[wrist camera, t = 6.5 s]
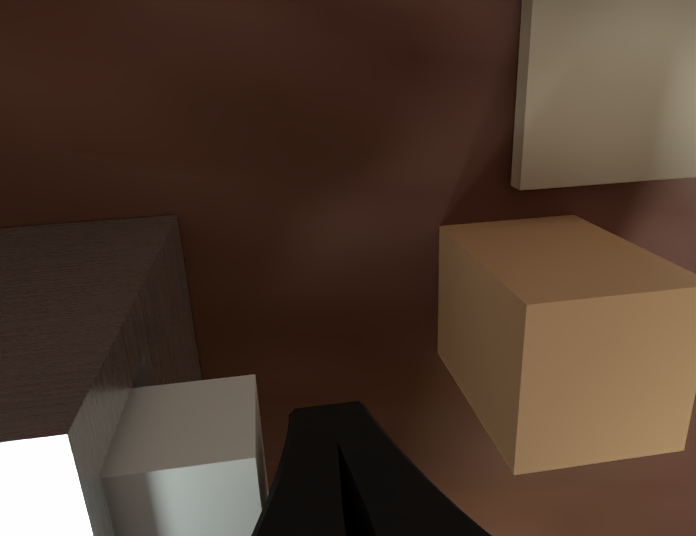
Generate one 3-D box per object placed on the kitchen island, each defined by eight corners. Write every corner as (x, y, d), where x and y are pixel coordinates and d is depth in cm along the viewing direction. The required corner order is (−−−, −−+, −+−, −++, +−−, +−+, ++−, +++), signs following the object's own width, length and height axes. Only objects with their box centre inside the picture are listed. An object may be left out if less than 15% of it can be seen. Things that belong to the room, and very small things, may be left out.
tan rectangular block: (560, 338, 18) (683, 450, 13) (437, 352, 17) (513, 475, 12) (573, 214, 16) (717, 285, 11) (438, 225, 16) (526, 304, 11)
